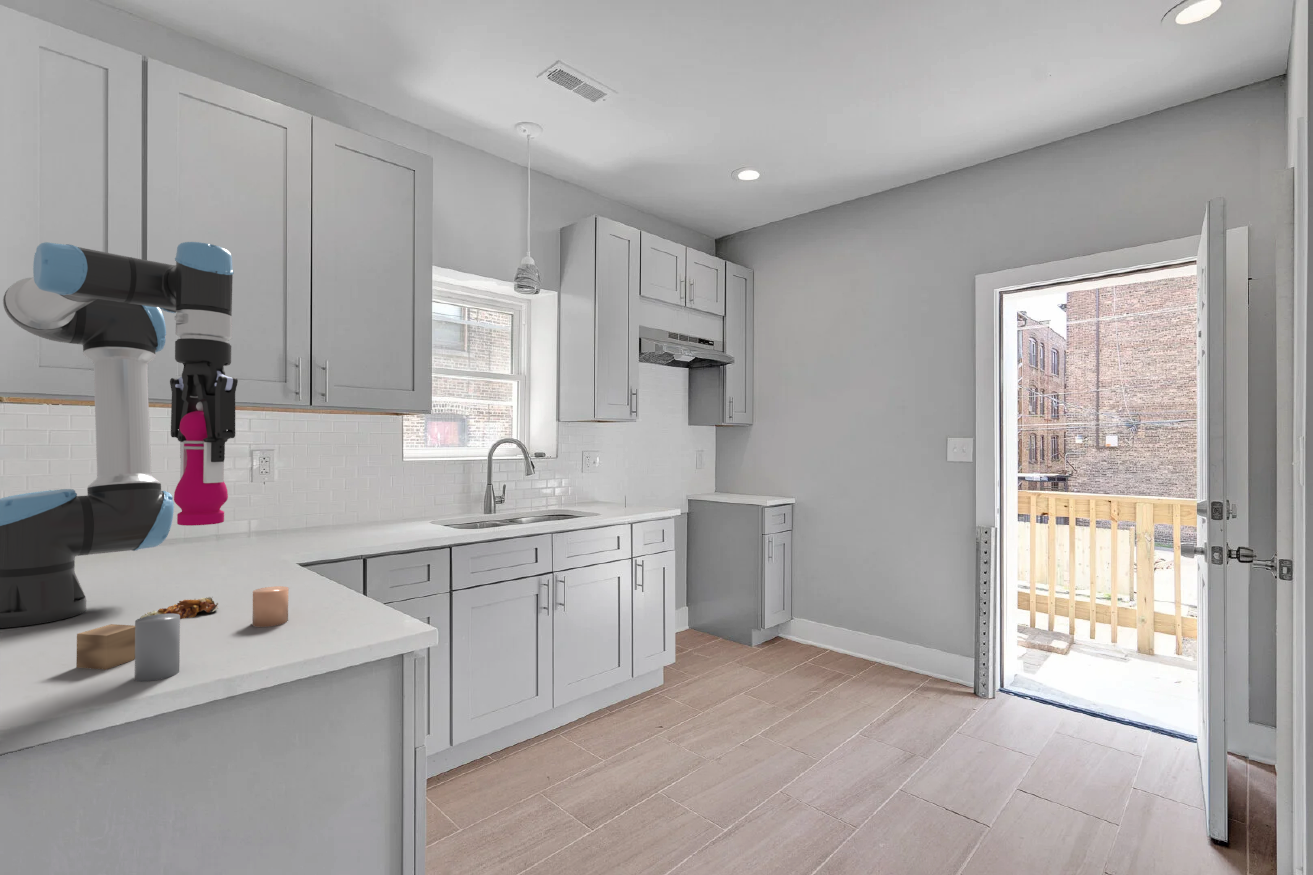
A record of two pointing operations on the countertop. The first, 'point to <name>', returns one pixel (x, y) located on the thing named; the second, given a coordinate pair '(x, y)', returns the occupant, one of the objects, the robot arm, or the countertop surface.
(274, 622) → the peach rounded cylinder
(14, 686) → the countertop surface
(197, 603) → the brown lumpy mound
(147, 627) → the grey cylinder
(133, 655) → the tan block
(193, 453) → the pepper mill
